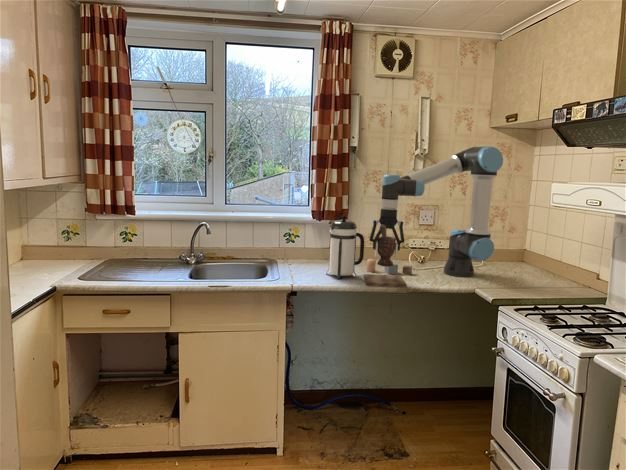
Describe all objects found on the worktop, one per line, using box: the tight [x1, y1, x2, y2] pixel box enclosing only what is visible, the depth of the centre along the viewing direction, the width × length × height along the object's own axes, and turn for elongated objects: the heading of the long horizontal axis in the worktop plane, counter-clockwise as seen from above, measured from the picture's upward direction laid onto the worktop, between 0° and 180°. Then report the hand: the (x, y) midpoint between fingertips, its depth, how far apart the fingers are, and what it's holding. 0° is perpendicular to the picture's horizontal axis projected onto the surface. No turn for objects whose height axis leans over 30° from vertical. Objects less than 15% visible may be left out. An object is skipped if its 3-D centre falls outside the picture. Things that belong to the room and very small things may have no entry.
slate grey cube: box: [383, 261, 399, 275], centre depth 232 cm, size 5×5×5 cm
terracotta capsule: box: [366, 258, 377, 273], centre depth 234 cm, size 4×4×6 cm
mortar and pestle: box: [376, 224, 397, 267], centre depth 210 cm, size 12×9×20 cm
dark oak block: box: [401, 265, 413, 276], centre depth 231 cm, size 4×4×4 cm
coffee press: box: [325, 214, 365, 281], centre depth 220 cm, size 17×16×30 cm
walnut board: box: [363, 273, 408, 288], centre depth 213 cm, size 18×16×2 cm
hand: (385, 256), depth 211 cm, fingers closed on mortar and pestle, 8 cm apart
